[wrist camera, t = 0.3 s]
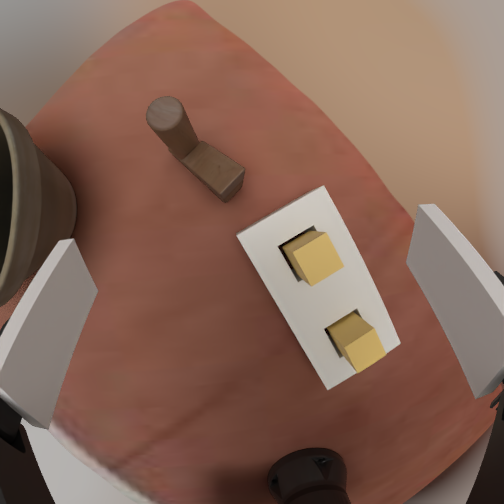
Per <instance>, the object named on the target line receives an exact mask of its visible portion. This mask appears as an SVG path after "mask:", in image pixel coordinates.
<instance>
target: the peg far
mask: <svg viewBox="0 0 504 504" xmlns="http://www.w3.org/2000/svg"><path fill="white" fill-rule="evenodd" d="M326 328H327V329H328V331H329V333H330V335H331V337H332V339H333V341H334V342H335V344H336V346H337V348H338V350H339V351H340V352H341V354H342V355H343V356H344V357H345V359H346V360H347V361H348V362H349V363H350V365H351V366H352V367H353V368H354V370H355V371H356V372H357V373H359V372H361V371H363V370H364V369H366V368H367V367H369V366H370V365H372V364H373V363H375V362H376V361H378V360H379V359H381V358H382V357H384V356H385V355H386V352H385V350H384V348H383V346H382V343H381V341H380V339H379V337H378V335H377V332H376V330H375V328H374V327H372V326H371V325H370V324H368V323H367V322H366V321H365V320H363V319H362V318H361V317H359V316H358V315H357V314H355V313H354V312H353V311H352V312H350V313H349V314H347V315H346V316H344V317H343V318H341V319H339V320H338V321H336V322H335V323H333V324H331V325H330V326H328V327H326Z"/></svg>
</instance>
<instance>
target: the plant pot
mask: <svg viewBox="0 0 504 504" xmlns="http://www.w3.org/2000/svg"><path fill="white" fill-rule="evenodd" d="M76 215H77V204H76V197H75V193H74V190H73V188H72V186H71V184H70V182H69V181H68V179H67V178H66V177H65V175H64V174H63V173H62V172H61V171H60V170H59V169H58V168H57V167H56V166H55V165H54V164H53V163H52V162H51V161H50V160H49V159H48V158H47V157H46V156H45V155H44V153H43V152H42V151H41V150H40V149H39V148H38V147H37V146H36V145H35V144H34V143H33V140H32V138H31V136H30V135H29V133H28V131H27V129H26V128H25V127H24V126H23V124H22V123H21V122H20V121H19V120H18V119H17V118H16V117H14V116H13V115H11V114H9V113H7V112H6V111H4V110H2V109H1V108H0V307H1V306H3V305H4V304H6V303H7V302H8V301H9V300H10V299H11V298H12V297H13V296H14V295H15V294H16V292H17V291H18V290H19V288H20V286H21V285H22V283H23V281H24V280H26V279H27V278H28V277H29V276H30V275H32V274H33V273H34V272H35V271H36V270H38V269H39V268H40V267H41V266H42V265H43V263H44V262H45V260H46V259H47V257H48V256H49V255H50V253H51V252H52V250H53V249H54V247H55V246H56V244H57V243H58V242H59V241H60V240H67V239H70V236H71V234H72V232H73V230H74V226H75V222H76Z"/></svg>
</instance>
